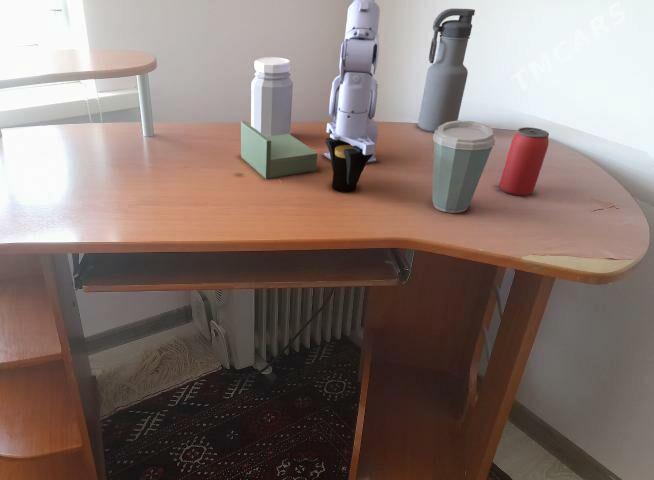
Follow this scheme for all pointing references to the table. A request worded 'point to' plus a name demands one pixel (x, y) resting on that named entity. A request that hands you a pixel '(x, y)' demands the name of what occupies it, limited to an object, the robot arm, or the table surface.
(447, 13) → the water bottle
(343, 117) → the robot arm
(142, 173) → the table surface
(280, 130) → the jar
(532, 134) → the beer can
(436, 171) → the disposable coffee cup
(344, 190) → the canister
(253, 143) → the shelf
